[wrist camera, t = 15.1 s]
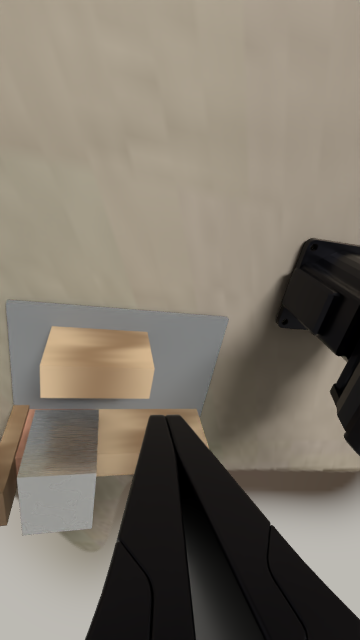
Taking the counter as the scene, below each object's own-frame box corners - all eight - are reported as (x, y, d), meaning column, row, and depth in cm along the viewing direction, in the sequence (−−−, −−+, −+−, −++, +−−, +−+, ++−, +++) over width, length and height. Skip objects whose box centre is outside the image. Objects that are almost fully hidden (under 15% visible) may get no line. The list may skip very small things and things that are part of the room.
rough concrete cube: (99, 409, 21) (96, 473, 17) (94, 461, 24) (91, 528, 20) (35, 409, 20) (16, 477, 16) (38, 464, 23) (22, 535, 19)
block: (217, 336, 22) (252, 401, 17) (190, 431, 27) (211, 507, 21) (7, 323, 19) (-35, 399, 13) (16, 435, 23) (-13, 526, 18)
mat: (226, 316, 22) (228, 319, 22) (193, 431, 28) (194, 435, 27) (7, 299, 19) (5, 302, 18) (17, 435, 24) (16, 439, 24)
